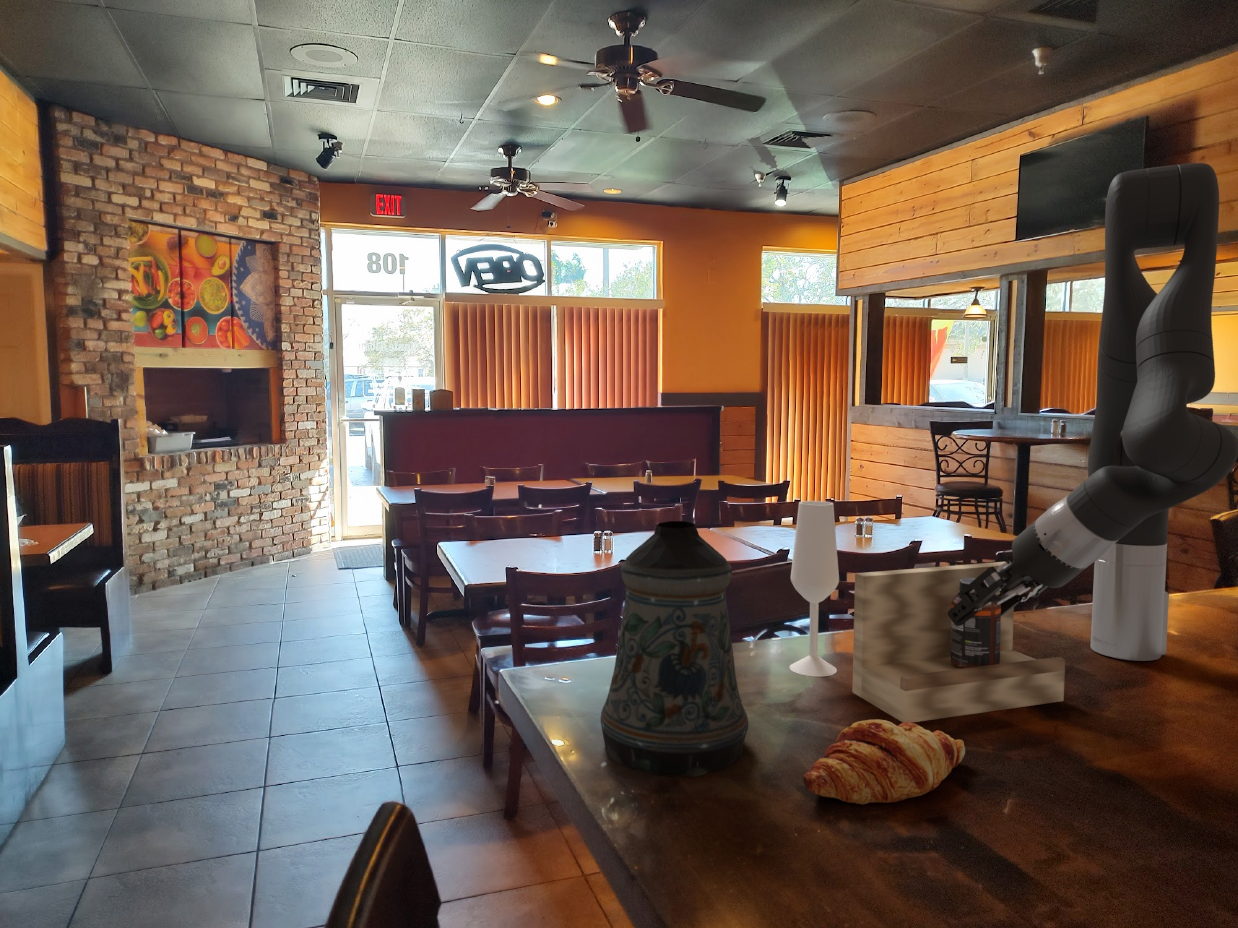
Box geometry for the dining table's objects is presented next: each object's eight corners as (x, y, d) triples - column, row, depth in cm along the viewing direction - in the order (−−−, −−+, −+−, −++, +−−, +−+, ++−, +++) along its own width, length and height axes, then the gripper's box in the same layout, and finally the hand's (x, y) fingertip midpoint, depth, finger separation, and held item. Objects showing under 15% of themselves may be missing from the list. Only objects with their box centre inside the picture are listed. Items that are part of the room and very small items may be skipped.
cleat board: (1000, 673, 118) (1004, 561, 117) (1063, 700, 108) (1068, 578, 106) (852, 692, 111) (855, 573, 109) (904, 723, 100) (908, 592, 99)
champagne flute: (837, 663, 123) (840, 500, 121) (837, 678, 116) (840, 507, 114) (790, 659, 124) (792, 499, 122) (788, 674, 118) (790, 505, 116)
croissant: (938, 782, 93) (914, 708, 96) (1010, 772, 85) (982, 693, 88) (788, 825, 83) (766, 742, 86) (854, 819, 75) (828, 727, 78)
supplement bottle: (990, 659, 111) (993, 576, 111) (1006, 674, 106) (1009, 586, 105) (944, 658, 112) (946, 575, 111) (957, 673, 106) (960, 585, 105)
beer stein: (623, 787, 84) (622, 542, 82) (580, 715, 103) (579, 514, 101) (773, 767, 89) (776, 534, 87) (706, 702, 107) (707, 509, 105)
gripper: (1077, 510, 104) (989, 584, 114) (1008, 519, 96) (921, 597, 107) (1119, 560, 99) (1024, 631, 110) (1050, 573, 92) (956, 649, 103)
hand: (974, 614), depth 108 cm, fingers open, 8 cm apart
